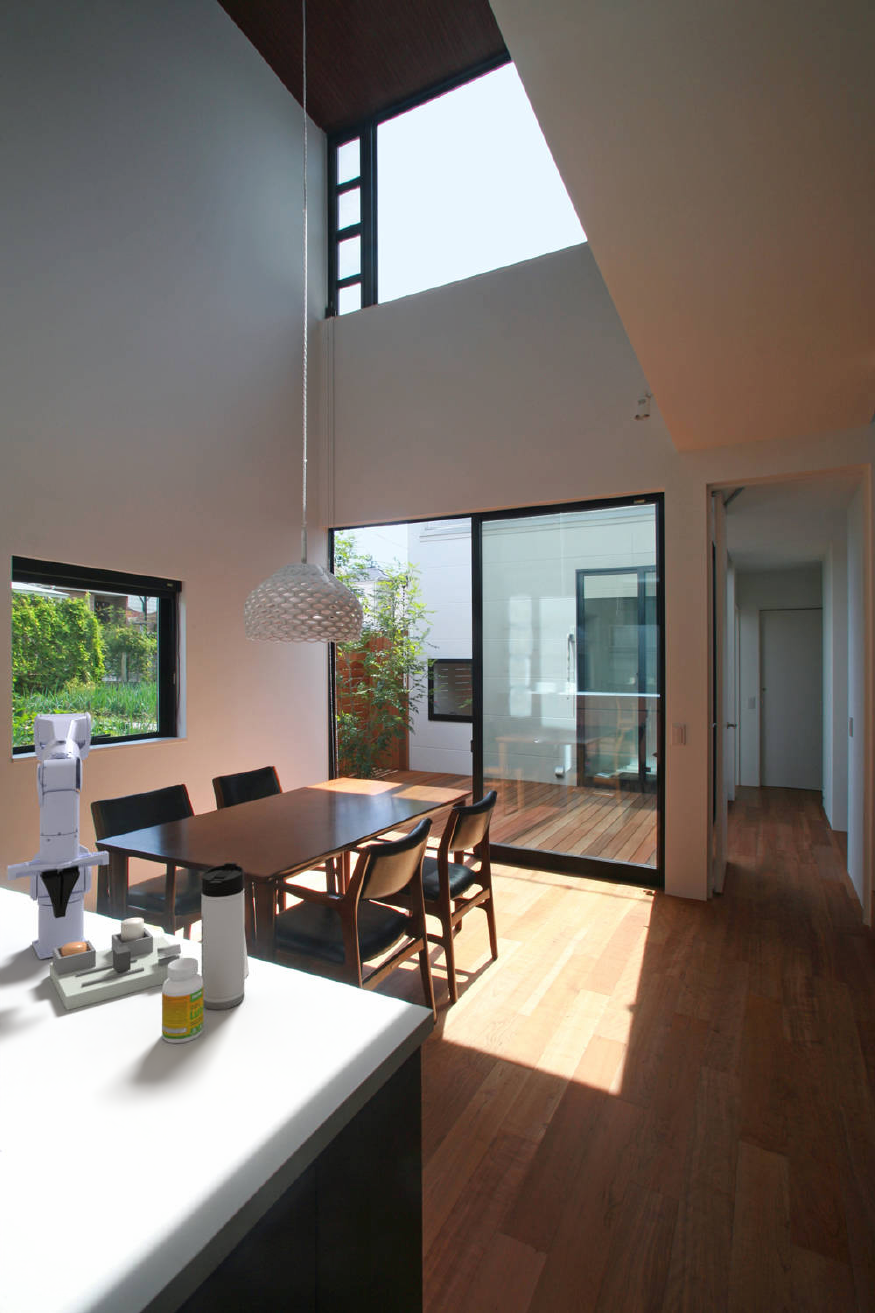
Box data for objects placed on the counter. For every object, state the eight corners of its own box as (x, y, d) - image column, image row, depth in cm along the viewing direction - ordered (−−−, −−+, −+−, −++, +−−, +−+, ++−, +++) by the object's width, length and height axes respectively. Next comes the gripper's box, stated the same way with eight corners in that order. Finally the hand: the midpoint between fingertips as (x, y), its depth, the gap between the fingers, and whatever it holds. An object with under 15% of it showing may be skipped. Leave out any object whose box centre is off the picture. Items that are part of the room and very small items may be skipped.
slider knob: (112, 967, 111) (113, 948, 111) (126, 964, 112) (126, 945, 112) (117, 973, 108) (117, 954, 108) (130, 969, 110) (130, 951, 110)
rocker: (157, 957, 113) (157, 948, 114) (173, 953, 115) (173, 944, 115) (164, 957, 110) (163, 948, 111) (181, 953, 112) (180, 944, 112)
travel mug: (251, 990, 107) (251, 862, 107) (234, 1011, 100) (234, 875, 101) (213, 989, 108) (213, 862, 108) (194, 1009, 101) (194, 874, 101)
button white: (118, 938, 118) (118, 920, 118) (140, 933, 120) (140, 916, 120) (123, 944, 115) (123, 927, 115) (146, 939, 117) (146, 922, 117)
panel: (49, 975, 113) (49, 947, 113) (162, 947, 124) (162, 922, 124) (66, 1010, 101) (66, 979, 101) (189, 976, 112) (189, 948, 112)
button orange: (59, 963, 112) (59, 945, 112) (84, 957, 115) (84, 939, 115) (63, 971, 110) (63, 952, 110) (88, 964, 112) (88, 946, 112)
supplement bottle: (194, 1044, 92) (194, 972, 92) (155, 1044, 92) (155, 972, 92) (209, 1024, 97) (209, 955, 97) (171, 1023, 97) (171, 955, 97)
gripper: (11, 843, 104) (10, 933, 104) (113, 829, 113) (113, 912, 113) (5, 835, 110) (5, 921, 109) (103, 823, 119) (103, 902, 118)
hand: (59, 916), depth 111 cm, fingers closed
